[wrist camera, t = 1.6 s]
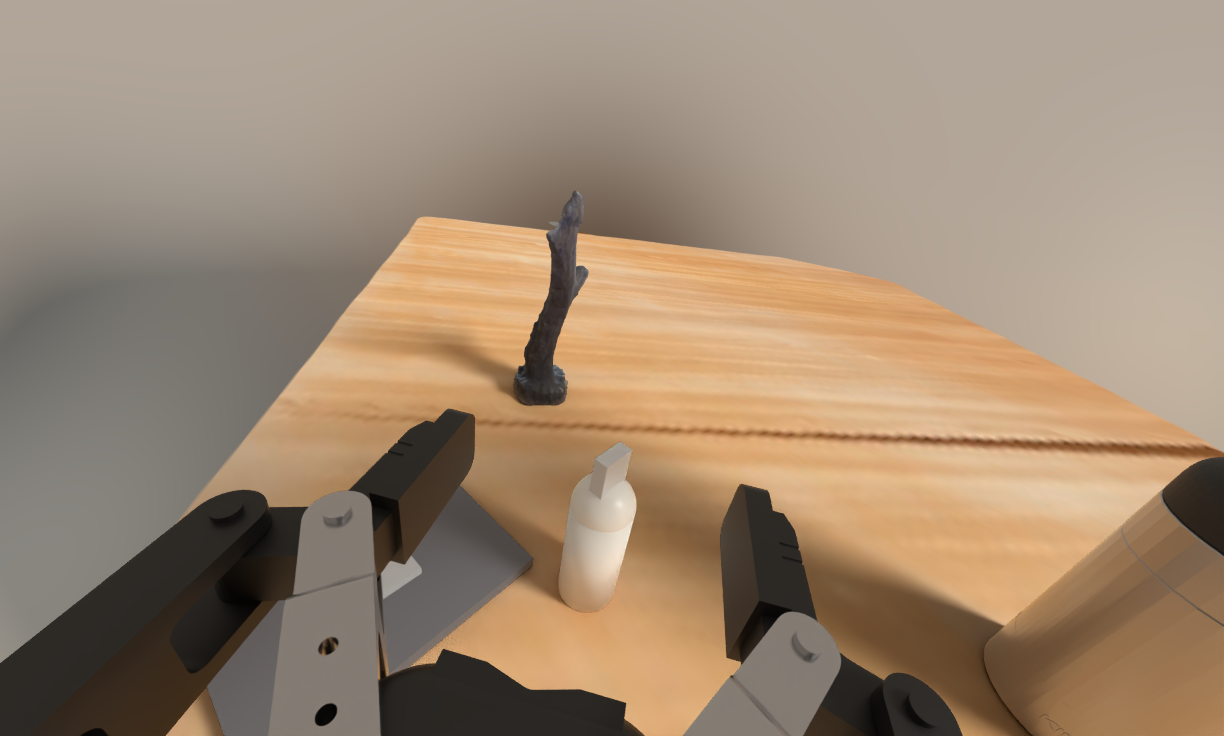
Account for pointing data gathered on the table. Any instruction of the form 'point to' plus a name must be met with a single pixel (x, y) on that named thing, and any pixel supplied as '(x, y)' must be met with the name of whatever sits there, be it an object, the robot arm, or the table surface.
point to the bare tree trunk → (553, 314)
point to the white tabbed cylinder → (597, 532)
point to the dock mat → (389, 608)
